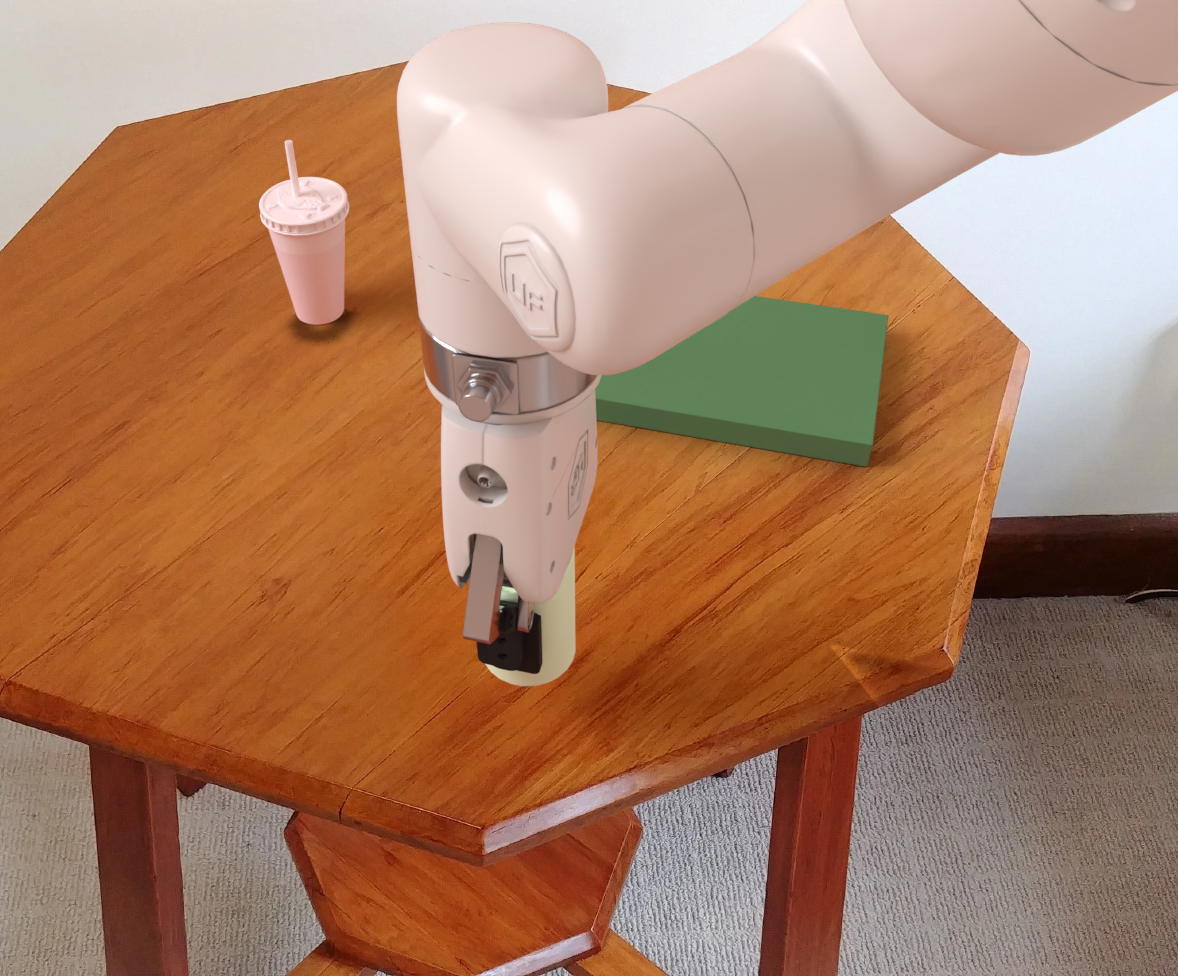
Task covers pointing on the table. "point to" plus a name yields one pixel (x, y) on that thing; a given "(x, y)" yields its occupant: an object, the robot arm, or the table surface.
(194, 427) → the table surface
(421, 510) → the table surface
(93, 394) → the table surface
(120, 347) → the table surface
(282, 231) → the smoothie
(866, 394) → the foam
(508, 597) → the candle
